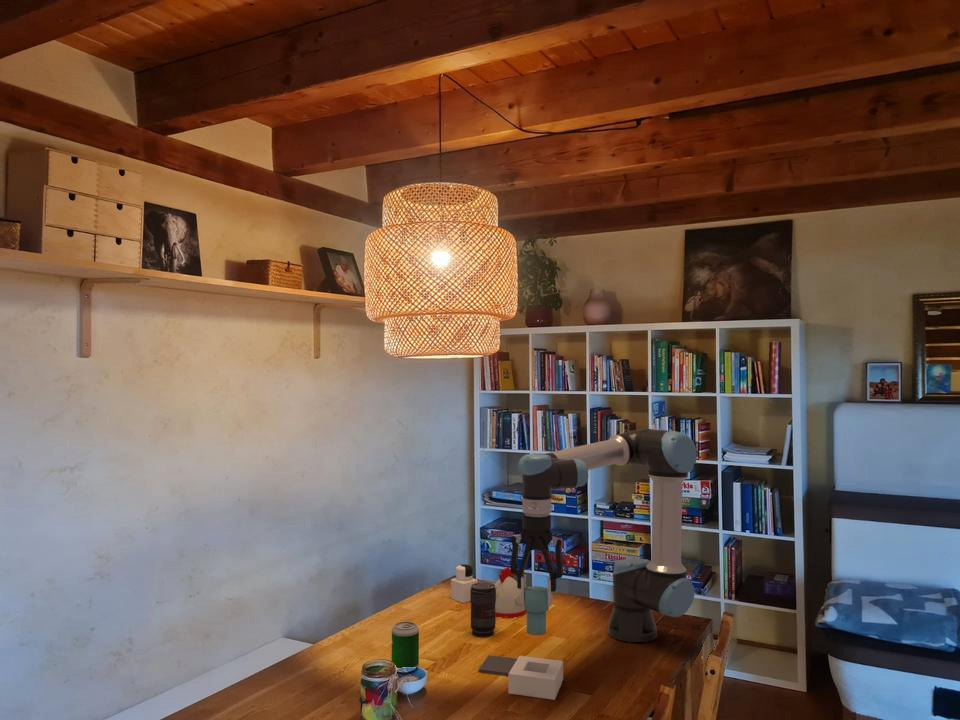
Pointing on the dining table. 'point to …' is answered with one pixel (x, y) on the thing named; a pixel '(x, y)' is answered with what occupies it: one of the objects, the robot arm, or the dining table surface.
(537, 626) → the capped plug
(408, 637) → the soda can
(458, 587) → the medicine bottle
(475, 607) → the camera lens
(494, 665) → the slate mat
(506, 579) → the kitchen timer
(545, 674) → the bore block
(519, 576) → the robot arm
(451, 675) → the dining table surface
